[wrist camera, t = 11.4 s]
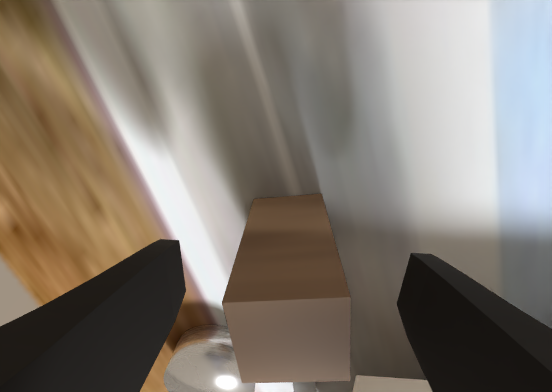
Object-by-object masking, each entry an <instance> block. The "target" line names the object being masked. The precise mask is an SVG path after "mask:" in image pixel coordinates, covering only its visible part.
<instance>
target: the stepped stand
mask: <svg viewBox="0 0 552 392" xmlns="http://www.w3.org/2000/svg"><path fill="white" fill-rule="evenodd" d="M352 392H432V390H431V387H430V385H429V383H428V381H427V380H419V379H404V378H390V377H375V376H361V375H356V378H355V383H354V387H353V391H352Z"/></svg>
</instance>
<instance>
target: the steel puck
mask: <svg viewBox="0 0 552 392" xmlns="http://www.w3.org/2000/svg"><path fill="white" fill-rule="evenodd" d="M164 383H165V386H166V388H167V390H168V391H169V392H254V390H255V383H242V381H241V377H240V373H239V369H238V365H237V361H236V357H235V353H234V349H233V345H232V341H231V337H230V333H229V329H228V327H226V326H221V325H202V326H197V327H194V328H192V329H190V330H188V331H186V332H185V333H184V334H183V335H182V336H181V337H180V339H179V341H178V343H177V345H176V347H175V350H174V352H173V354H172V357H171V359H170V361H169V364H168V366H167V368H166V371H165V374H164Z"/></svg>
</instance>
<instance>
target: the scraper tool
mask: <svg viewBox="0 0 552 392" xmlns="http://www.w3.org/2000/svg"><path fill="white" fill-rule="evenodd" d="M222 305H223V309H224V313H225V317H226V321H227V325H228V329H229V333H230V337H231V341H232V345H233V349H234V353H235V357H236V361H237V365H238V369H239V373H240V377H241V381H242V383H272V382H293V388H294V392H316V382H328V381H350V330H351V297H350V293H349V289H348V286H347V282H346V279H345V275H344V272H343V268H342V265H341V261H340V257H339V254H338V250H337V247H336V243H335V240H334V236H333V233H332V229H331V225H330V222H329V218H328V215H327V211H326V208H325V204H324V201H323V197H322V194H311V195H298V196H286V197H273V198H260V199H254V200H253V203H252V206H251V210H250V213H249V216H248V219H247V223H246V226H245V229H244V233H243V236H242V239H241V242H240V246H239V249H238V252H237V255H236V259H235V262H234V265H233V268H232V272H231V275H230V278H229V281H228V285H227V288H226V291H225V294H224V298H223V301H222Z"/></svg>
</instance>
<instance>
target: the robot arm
mask: <svg viewBox="0 0 552 392" xmlns="http://www.w3.org/2000/svg"><path fill="white" fill-rule="evenodd" d="M185 292H186V287H185V280H184V273H183V265H182V258H181V251H180V244H179V240H164V239H160V240H158V241H156V242H154V243H152V244H150V245H148V246H147V247H145V248H143V249H141V250H140V251H138V252H136V253H135V254H133V255H131V256H130V257H128V258H126V259H124V260H123V261H121V262H119V263H118V264H116V265H114V266H113V267H111V268H109V269H108V270H106V271H104V272H102V273H101V274H99V275H97V276H96V277H94V278H92V279H90V280H89V281H87V282H85V283H83V284H81V285H79V286H78V287H76V288H74V289H72V290H70V291H69V292H67V293H65V294H63V295H61V296H59V297H58V298H56V299H54V300H52V301H50V302H49V303H47V304H45V305H43V306H41V307H39V308H37V309H35V310H33V311H31V312H29V313H27V314H25V315H23V316H21V317H19V318H17V319H15V320H13V321H11V322H9V323H7V324H5V325H2V326H0V392H140V390H141V388H142V386H143V384H144V382H145V380H146V378H147V376H148V374H149V372H150V370H151V368H152V366H153V364H154V362H155V360H156V358H157V356H158V354H159V352H160V350H161V348H162V346H163V344H164V342H165V340H166V338H167V336H168V335H169V333H170V331H171V328H172V326H173V324H174V322H175V320H176V317H177V315H178V312H179V309H180V307H181V304H182V301H183V298H184V295H185ZM397 306H398V310H399V313H400V316H401V319H402V323H403V326H404V329H405V331H406V334H407V337H408V340H409V342H410V344H411V346H412V348H413V351H414V353H415V355H416V357H417V359H418V362H419V364H420V366H421V368H422V370H423V372H424V375H425V377H426V379H427V381H428V383H429V385H430V387H431V390H432V392H552V329H551V328H549V327H547V326H546V325H544V324H542V323H541V322H539V321H537V320H536V319H534V318H532V317H531V316H529V315H528V314H526V313H524V312H523V311H521V310H520V309H518V308H516V307H515V306H513V305H512V304H510V303H508V302H507V301H505V300H504V299H502V298H501V297H499V296H498V295H496V294H494V293H493V292H491V291H490V290H488V289H487V288H485V287H484V286H482V285H481V284H479V283H477V282H476V281H474V280H473V279H471V278H470V277H468V276H467V275H465V274H464V273H462V272H460V271H459V270H457V269H456V268H454V267H453V266H451V265H449V264H448V263H446V262H444V261H443V260H441V259H439V258H438V257H436V256H434V255H432V254H420V253H411V255H410V258H409V262H408V266H407V269H406V273H405V276H404V280H403V283H402V287H401V291H400V294H399V298H398V301H397Z"/></svg>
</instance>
